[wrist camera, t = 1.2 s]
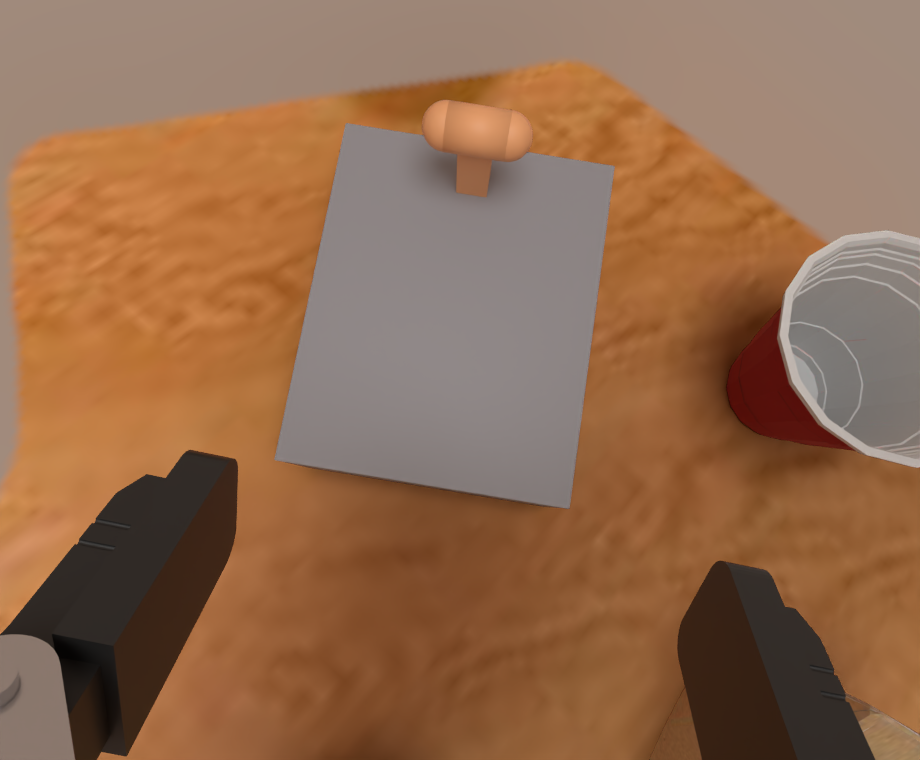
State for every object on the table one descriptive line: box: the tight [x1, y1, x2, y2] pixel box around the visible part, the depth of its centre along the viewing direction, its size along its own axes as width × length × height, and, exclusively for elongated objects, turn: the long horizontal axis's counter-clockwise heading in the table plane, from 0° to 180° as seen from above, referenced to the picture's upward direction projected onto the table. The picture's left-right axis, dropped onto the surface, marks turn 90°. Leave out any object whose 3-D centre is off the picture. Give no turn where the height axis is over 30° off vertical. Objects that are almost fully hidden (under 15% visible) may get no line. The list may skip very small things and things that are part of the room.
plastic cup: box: [726, 230, 920, 468], centre depth 35 cm, size 11×11×12 cm
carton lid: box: [275, 100, 615, 509], centre depth 31 cm, size 18×14×7 cm
